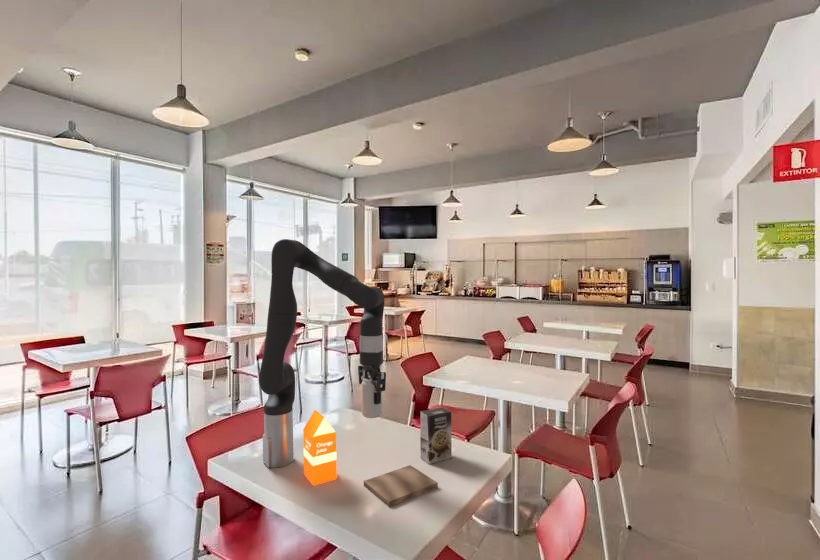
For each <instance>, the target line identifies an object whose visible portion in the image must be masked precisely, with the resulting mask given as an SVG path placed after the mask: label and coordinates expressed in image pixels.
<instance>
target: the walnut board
mask: <svg viewBox="0 0 820 560" xmlns="http://www.w3.org/2000/svg"><path fill="white" fill-rule="evenodd" d="M438 484H439V482H437V481H436V480H434V479H432V478H431V477H429V476H428V475H427V474H425V473H424V472H422V471H420V470H418V469H417V468H415V467H414V466H412V465H410V464H408V465H406V466H403V467H400V468H398V469H395V470H392V471H389V472H386V473H384V474H383V473H382V474H381V475H378V476H374V477H371V478H368V479H366V480H363V487H365V489H367V490H368V491H369V492H370V493H371V494H372V495H374V496H375V497H377V498H378V499H379V500H380V501H381V502H382V503H384V505H386V506H387V507H389V508H390V507H393V506H395V505H398V504H400V503H402V502H403V503H404V502H406V501H408V500H411V499H413V498H416V497H418V496H420V495H423V494H425V493H429V492H431V491H433V490H436V489H438V487H439V485H438Z"/></svg>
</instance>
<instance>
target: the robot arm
mask: <svg viewBox="0 0 820 560" xmlns="http://www.w3.org/2000/svg"><path fill="white" fill-rule="evenodd" d="M270 265H271V280H270V281H271V282H270V283H271V284H270V294H269V303H268V304H269V305H268V312H267V322H266V324H267V325H266V332H265V339H264V341H265V342H264V350H263V354H262V355H263V356H262V360H261V365H260V369H259V373H258V384H259V388H260V389H261V391H262V392H263V393H264V394H265V395H269V396H268V398H267V400H266V401H265V403H264V405H263V416H264V417H263V420H264V421H263V422H264V426H263V427H264V429H263V430H264V431H263V432H264V433H263V434H262V461H264V462H265V464H266V465H267V466H266V465H265V464H264V465H265V466H266V467H267V469H270V468H269V467H272V468H281V467H286V466H288V465H290V464H292V463H293V461H294V455H295V454H294V453H295V452H294V422H293V421H294V417H293V416H294V415H293V413H294V412H293V409H294V408H293V407H294V406H293V405H294V403H295V399H296V397H295V396H296V374H295V370H294V367H293V366H292V365H291V364H290V363H288V362H286V361H285V362H284V360H285V354H286V350H287V348H288V345H289V344H290V341H291V339H292V337H293V335H294V332H295V329H296V326H297V325H296V324H297V318H298V317H297V316H298V304H297V303H298V302H297V298H296V294H295V291H294V285H293V278H294V271H295V268H297V269H301V270H303V271H306V272H308V273H310V274H312V275H314V276H315V277H317V278H318V279H319V280H320V282H322V283H323V284H325V285H326V286H328V287H329V288H330V289H332V290H333V291H335V292H338V293H339V294H341V295H343V296H345V297H347V298H348V299H349V300H350V301H351V302H353V303H354V304H355V305H356V306H358V307H360V308H362V309H363V316H362V318H361V319H360V322H359V328H360V329H359V332H360V333H359V334H360V335H359V364H360V365H358V367H357V373H358V374H357V375H358V384H359V385H362V381H363V378H367V379H368V380H370V381H371V382H370V383H371V385H372V386H373V390H374V404H375V405H377V404H380V403H381V392H384V391H385V392H386V385H387V384H386V383H387V382H386V381H387V372H386V371H384V372H382V371H381V365H383V363H384V338H383V317H384V316H383V315H384V310H385V294H384V292H383V290H382V289H381V288H380V287H378V286H369V285H366V284H364V283H363V282H361V281H359V279H358V278H357V277H356V276H355V275H353V274H351V273H349V272H347V271H345V270H344V269H343V268H340V267H339V266H336V265H334V264H332V263H330V261H329V262H328V261H327V260H325V259H324V258H322V257H321V256H319V255H318V254H317V253H315V252H314V251H313V250H312V249H310V248H309V247H307V246H306V245H305V244H303V243H302V242H301V241H298V240H296V239H289V238H288V239H287V238H281V239H279V240H277V241H276V242H275V243H274V244H273V246H272V250H271V264H270ZM375 380H377V382H374V381H375ZM381 384H382V386H381ZM376 385H377V388H376ZM264 462H263V463H264Z"/></svg>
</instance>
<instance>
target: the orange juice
mask: <svg viewBox="0 0 820 560" xmlns="http://www.w3.org/2000/svg"><path fill="white" fill-rule="evenodd" d="M302 429H303V430H302V431H303V433H302V434H303V475H304V476H305V478H306V479H307V481H309V482H310V483H311V485H312V486H317V485H320V484H321V485H322V484H325V483H326V482H331V481H334V480H337V475H338V471H337V432H336V430H335V429H334V428H333V427H332V425H331V424H330V422H328V419H326V418H325V416H323V415H322V414H321V413H320V412H318V411H317V410H316V409H314V411H313V412H312V414H311V415H310V417H309V419H308V420H307V422H306V423H305V426H304V427H303V428H302Z"/></svg>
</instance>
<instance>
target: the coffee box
mask: <svg viewBox="0 0 820 560" xmlns="http://www.w3.org/2000/svg"><path fill="white" fill-rule="evenodd" d="M419 412H420V418H419V420H420V433H419V434H420V444H419V445H420V448H419V449H420V453H419V454H420V455H419V456H420V458H421V459H422V460H423V461H425V462H426V463H427V464H428V465H432V464H436V463H439V461H440V462H443V461H442V460H444V461H447V460H446V459H448V460H451V459H450V458H452V453H453V451H452V450H453V449H452V444H453V443H452V411H450V410H449V409H445V408H444V407H437V408H431V409H426V410H421V411H419Z"/></svg>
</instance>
